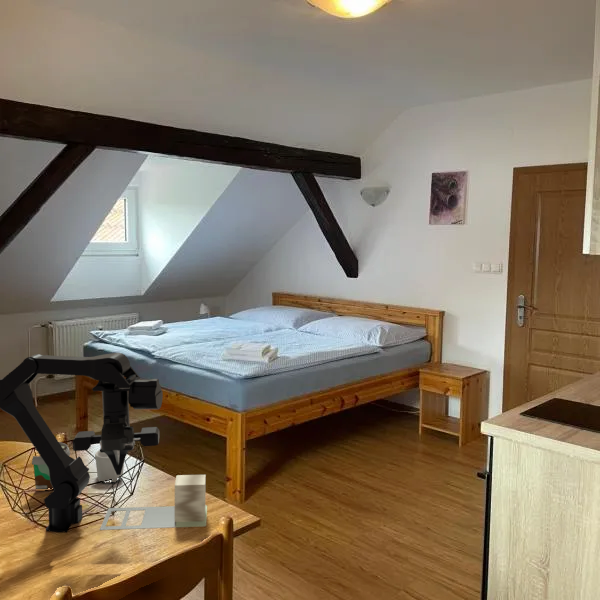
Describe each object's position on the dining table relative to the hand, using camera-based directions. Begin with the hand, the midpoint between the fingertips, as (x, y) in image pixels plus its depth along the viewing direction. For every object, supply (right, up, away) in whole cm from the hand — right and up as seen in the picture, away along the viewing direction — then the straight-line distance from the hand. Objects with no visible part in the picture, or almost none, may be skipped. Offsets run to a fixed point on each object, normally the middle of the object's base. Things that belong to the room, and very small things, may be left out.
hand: (119, 474), depth 141 cm
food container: (-24, -10, +24) cm, 36 cm away
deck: (+7, -13, +5) cm, 16 cm away
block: (+16, -12, +5) cm, 20 cm away
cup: (-12, -10, +30) cm, 34 cm away
